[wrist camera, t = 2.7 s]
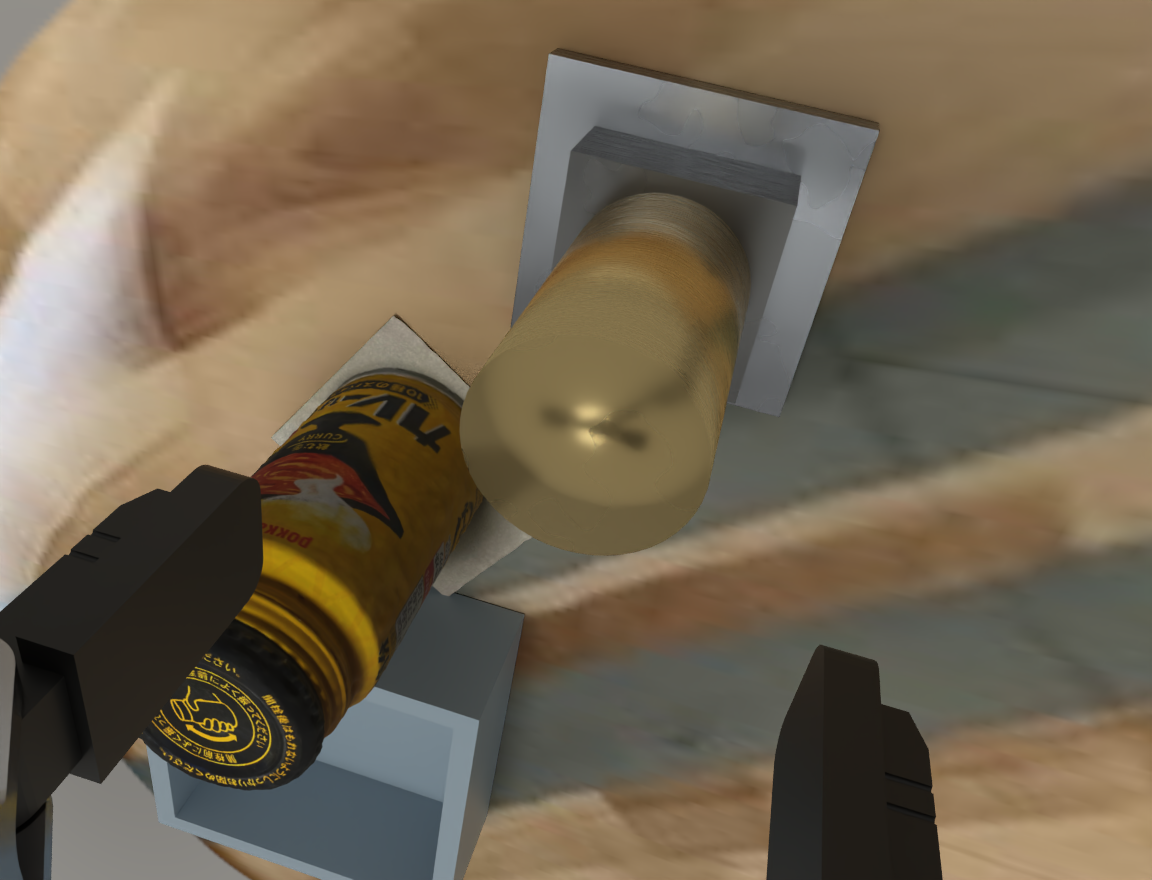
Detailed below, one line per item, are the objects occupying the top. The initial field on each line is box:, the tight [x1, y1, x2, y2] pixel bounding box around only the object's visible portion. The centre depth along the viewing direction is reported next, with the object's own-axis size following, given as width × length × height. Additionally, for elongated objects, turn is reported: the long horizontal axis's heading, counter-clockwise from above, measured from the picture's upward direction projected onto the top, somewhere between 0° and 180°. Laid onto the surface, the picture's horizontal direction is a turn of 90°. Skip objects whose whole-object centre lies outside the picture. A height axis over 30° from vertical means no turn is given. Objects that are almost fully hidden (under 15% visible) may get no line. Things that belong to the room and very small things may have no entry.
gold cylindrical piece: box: [460, 126, 801, 556], centre depth 20 cm, size 5×5×10 cm
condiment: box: [138, 316, 532, 791], centre depth 26 cm, size 7×8×12 cm
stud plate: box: [511, 48, 879, 417], centre depth 24 cm, size 8×8×1 cm
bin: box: [146, 586, 524, 880], centre depth 35 cm, size 13×13×5 cm
